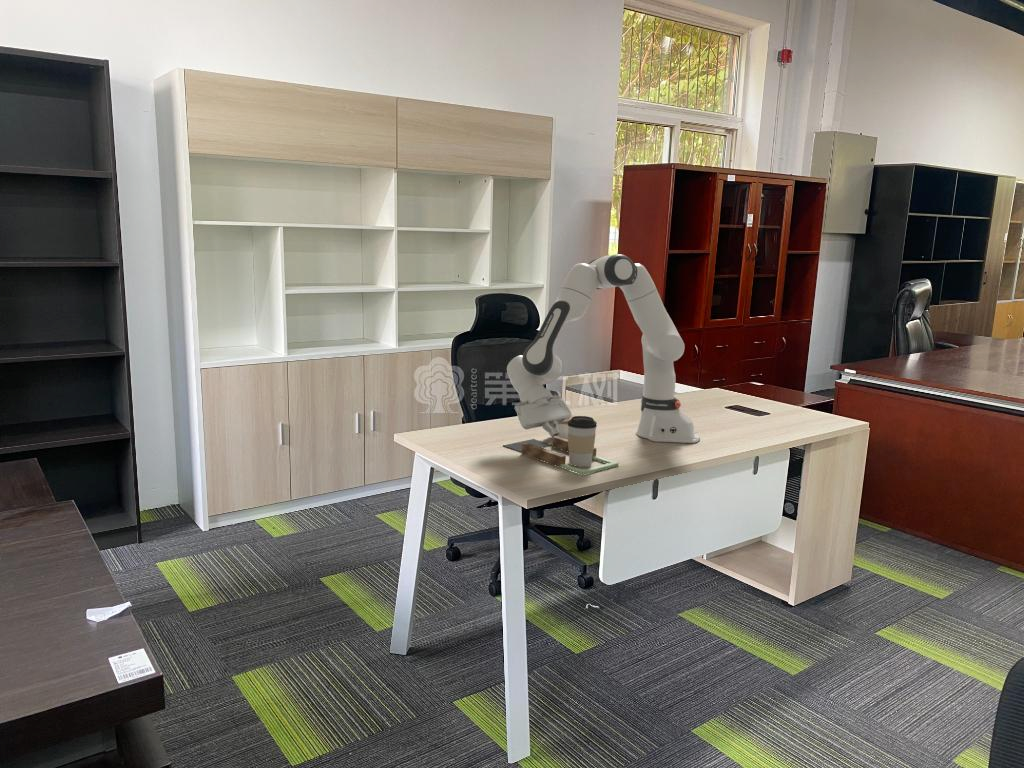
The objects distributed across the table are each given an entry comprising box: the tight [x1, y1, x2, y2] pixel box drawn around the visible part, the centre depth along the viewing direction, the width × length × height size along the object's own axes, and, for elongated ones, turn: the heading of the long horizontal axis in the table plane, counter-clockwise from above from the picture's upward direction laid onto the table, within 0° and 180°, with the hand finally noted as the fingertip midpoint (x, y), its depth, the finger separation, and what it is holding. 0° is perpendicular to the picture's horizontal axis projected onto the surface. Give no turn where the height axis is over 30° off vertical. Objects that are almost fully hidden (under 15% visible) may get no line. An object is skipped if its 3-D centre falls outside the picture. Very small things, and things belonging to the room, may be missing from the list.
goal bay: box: [561, 455, 619, 476], centre depth 232 cm, size 10×16×1 cm, turn 131°
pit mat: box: [502, 438, 552, 453], centre depth 253 cm, size 9×14×1 cm, turn 131°
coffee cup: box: [568, 415, 598, 467], centre depth 234 cm, size 9×9×15 cm
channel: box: [521, 436, 597, 468], centre depth 242 cm, size 18×16×4 cm
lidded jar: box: [549, 414, 575, 439], centre depth 263 cm, size 11×11×9 cm
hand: (555, 434), depth 242 cm, fingers closed
